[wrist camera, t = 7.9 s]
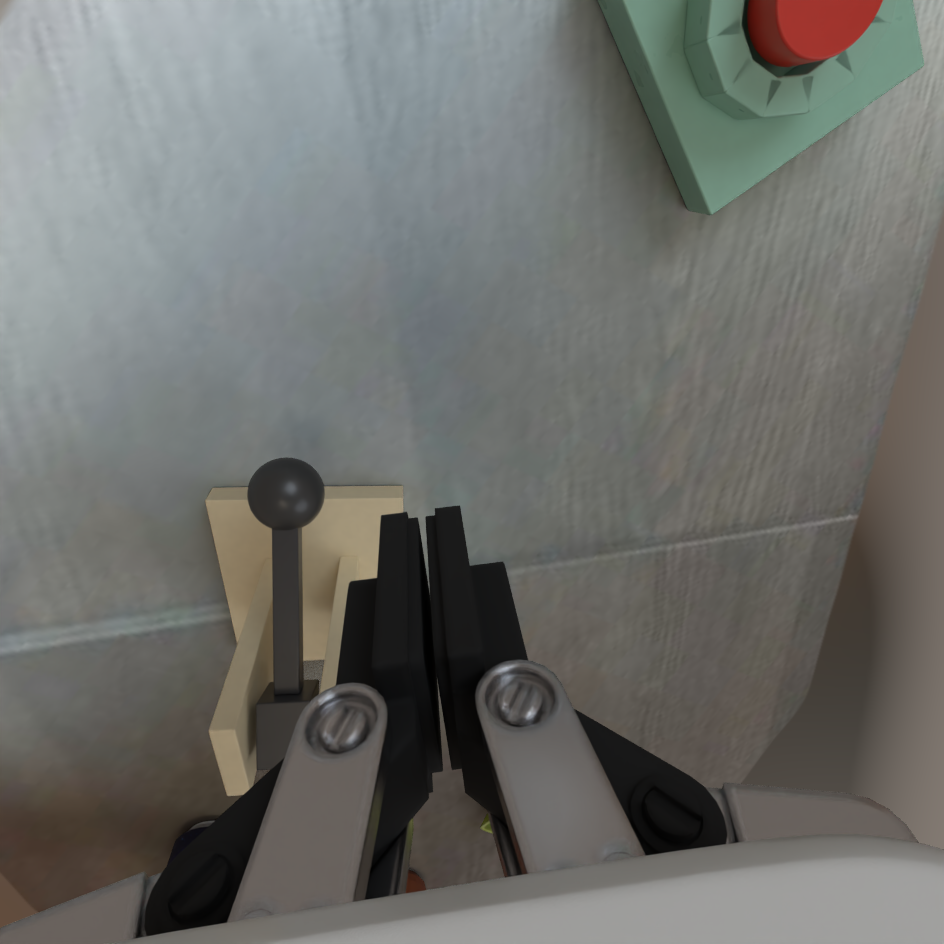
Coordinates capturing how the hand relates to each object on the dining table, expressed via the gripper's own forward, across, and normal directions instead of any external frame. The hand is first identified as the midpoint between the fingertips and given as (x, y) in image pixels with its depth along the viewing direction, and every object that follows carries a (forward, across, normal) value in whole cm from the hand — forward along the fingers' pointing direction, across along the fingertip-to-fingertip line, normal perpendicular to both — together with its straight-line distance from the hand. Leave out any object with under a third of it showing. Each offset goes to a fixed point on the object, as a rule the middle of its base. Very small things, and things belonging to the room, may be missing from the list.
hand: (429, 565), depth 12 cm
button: (+13, -14, -11) cm, 22 cm away
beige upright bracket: (+17, +7, +13) cm, 23 cm away
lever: (+11, +7, +10) cm, 16 cm away
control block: (+17, -14, -11) cm, 25 cm away
